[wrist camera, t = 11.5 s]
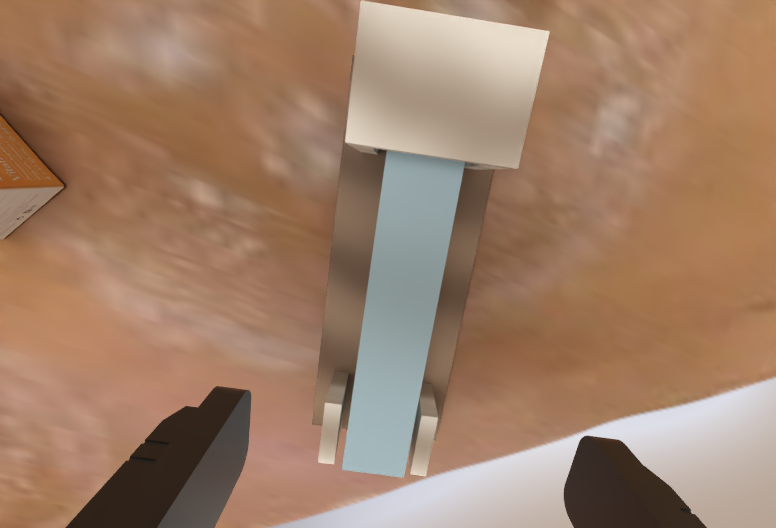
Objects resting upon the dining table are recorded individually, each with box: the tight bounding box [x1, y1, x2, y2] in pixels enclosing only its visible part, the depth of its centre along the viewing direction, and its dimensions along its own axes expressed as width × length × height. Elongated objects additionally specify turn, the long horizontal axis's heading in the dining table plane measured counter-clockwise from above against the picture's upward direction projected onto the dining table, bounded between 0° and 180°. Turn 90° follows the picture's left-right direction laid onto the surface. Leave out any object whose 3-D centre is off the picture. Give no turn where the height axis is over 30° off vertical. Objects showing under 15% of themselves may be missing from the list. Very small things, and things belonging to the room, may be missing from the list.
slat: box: [342, 150, 465, 478], centre depth 21 cm, size 20×4×5 cm, turn 172°
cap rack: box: [312, 0, 550, 476], centre depth 20 cm, size 24×9×9 cm, turn 172°
